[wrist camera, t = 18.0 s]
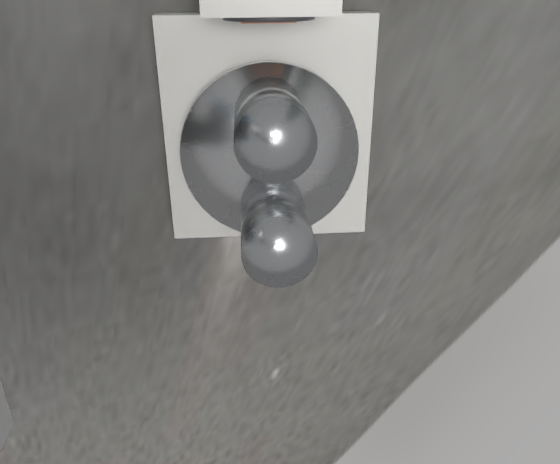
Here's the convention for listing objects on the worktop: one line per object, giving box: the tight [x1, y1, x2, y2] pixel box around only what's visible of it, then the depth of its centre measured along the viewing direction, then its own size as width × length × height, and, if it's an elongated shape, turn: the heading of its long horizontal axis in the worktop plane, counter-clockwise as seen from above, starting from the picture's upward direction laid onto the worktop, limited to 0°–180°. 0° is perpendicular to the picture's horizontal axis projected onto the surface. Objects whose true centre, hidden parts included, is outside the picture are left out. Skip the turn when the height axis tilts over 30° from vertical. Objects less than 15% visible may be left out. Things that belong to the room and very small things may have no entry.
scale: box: [152, 0, 379, 239], centre depth 32 cm, size 13×16×7 cm
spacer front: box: [233, 77, 318, 184], centre depth 28 cm, size 4×4×7 cm
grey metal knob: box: [241, 179, 318, 287], centre depth 31 cm, size 4×4×7 cm
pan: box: [180, 60, 359, 232], centre depth 33 cm, size 11×11×1 cm
